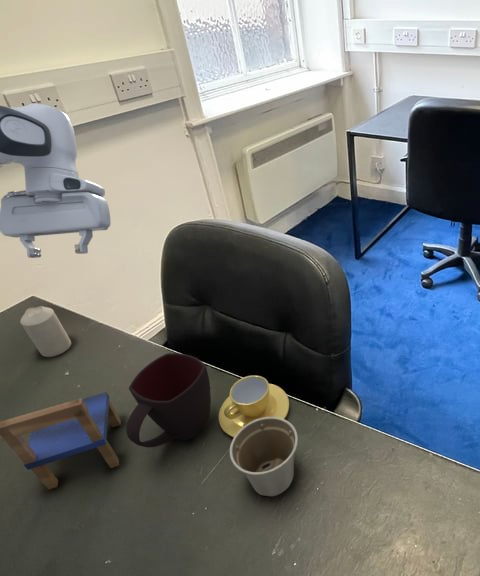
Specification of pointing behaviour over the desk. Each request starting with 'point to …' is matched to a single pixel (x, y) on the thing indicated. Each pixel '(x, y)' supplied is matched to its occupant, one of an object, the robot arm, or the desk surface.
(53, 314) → the candle
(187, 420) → the mug
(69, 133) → the robot arm
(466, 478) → the desk surface
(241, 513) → the desk surface
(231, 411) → the cup
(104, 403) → the chair
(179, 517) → the desk surface
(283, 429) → the flower pot
